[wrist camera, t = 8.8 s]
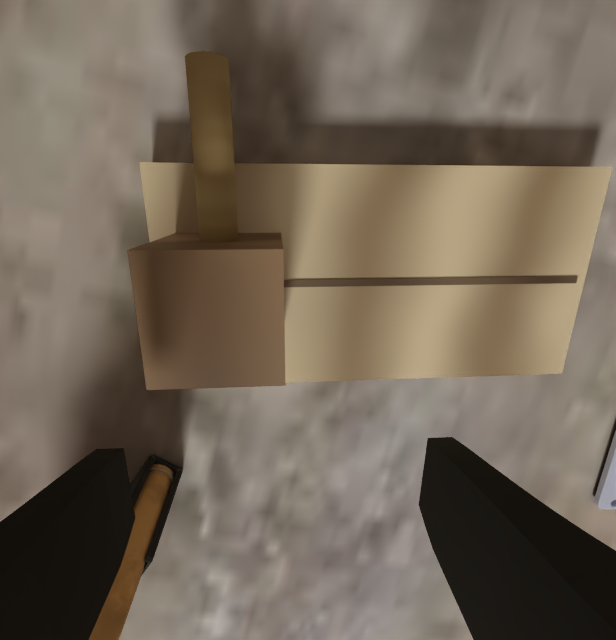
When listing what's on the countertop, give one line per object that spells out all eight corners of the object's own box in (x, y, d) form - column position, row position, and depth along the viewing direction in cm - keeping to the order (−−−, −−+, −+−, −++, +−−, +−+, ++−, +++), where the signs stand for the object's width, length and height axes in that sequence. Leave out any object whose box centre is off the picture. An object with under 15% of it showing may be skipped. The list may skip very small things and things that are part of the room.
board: (583, 168, 17) (613, 166, 15) (541, 359, 20) (562, 373, 18) (152, 164, 15) (138, 162, 14) (176, 370, 18) (167, 386, 17)
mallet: (278, 86, 13) (279, 26, 9) (282, 330, 16) (285, 385, 11) (160, 82, 13) (95, 19, 8) (185, 332, 16) (146, 390, 11)
